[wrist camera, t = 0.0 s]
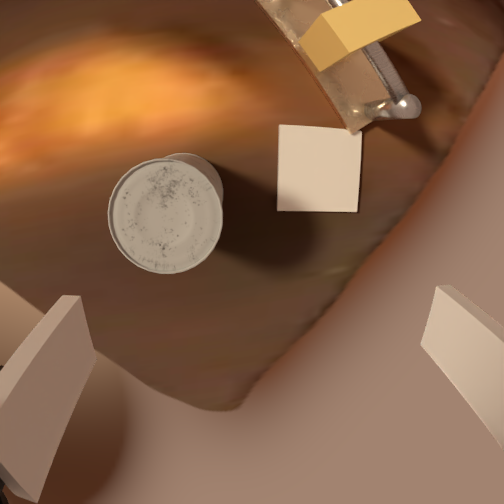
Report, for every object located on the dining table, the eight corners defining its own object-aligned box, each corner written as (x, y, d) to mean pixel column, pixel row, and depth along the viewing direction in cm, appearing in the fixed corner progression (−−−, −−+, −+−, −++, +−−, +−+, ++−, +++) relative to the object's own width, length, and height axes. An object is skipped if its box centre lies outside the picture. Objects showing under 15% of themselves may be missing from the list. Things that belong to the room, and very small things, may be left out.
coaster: (278, 125, 35) (279, 124, 34) (359, 131, 36) (361, 131, 35) (276, 209, 38) (277, 210, 38) (355, 211, 39) (356, 212, 38)
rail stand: (253, 0, 29) (262, -39, 20) (306, -23, 28) (329, -61, 19) (349, 135, 36) (388, 135, 26) (396, 106, 35) (442, 101, 25)
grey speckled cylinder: (240, 194, 37) (248, 218, 26) (183, 249, 39) (167, 295, 27) (182, 135, 34) (162, 133, 23) (126, 194, 36) (86, 219, 24)
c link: (319, 72, 29) (349, 53, 21) (298, 41, 28) (320, 13, 20) (381, 40, 28) (421, 20, 20) (361, 12, 27) (396, -15, 19)
